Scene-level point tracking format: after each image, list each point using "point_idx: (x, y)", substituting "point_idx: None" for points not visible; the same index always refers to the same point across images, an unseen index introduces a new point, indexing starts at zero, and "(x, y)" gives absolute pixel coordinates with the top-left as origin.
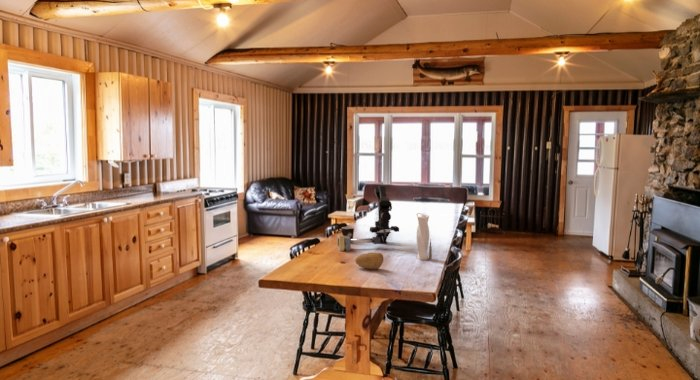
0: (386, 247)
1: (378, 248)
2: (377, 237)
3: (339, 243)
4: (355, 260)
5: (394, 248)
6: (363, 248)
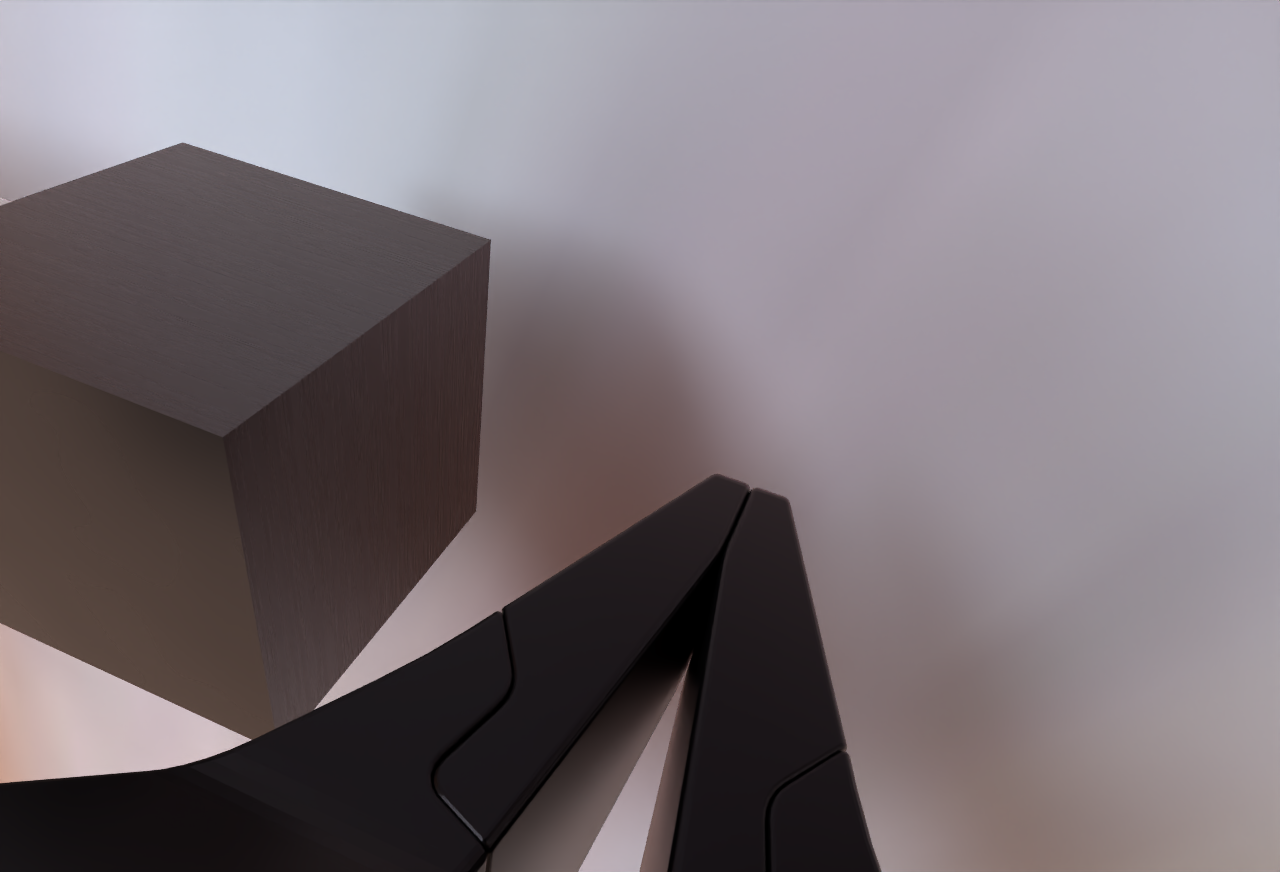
0: (901, 410)
1: (507, 377)
2: (133, 602)
3: None
4: None
5: (1074, 695)
6: (12, 99)
